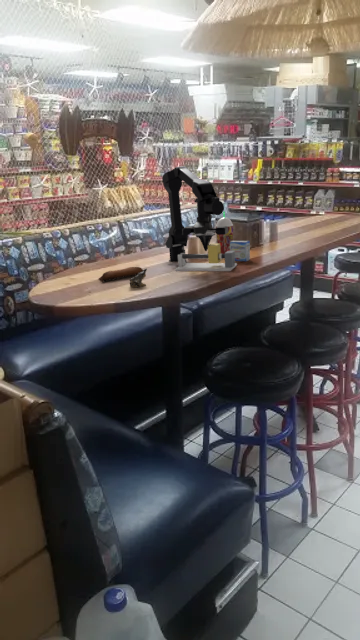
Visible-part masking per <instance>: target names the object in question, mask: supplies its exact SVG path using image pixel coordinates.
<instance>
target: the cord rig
mask: <svg viewBox="0 0 360 640" xmlns="http://www.w3.org/2000/svg"><path fill="white" fill-rule="evenodd" d="M187 259H188V260H189V259H192V260H193V259H195V260H196V259H197V260H198V259H199V260H200V259H202V260H203V259H204V260H207V259H208V253H186V252H185V253H181V255H178V261H177V264H178V266H177V267H176V268H175V269H174V271H176V272H179V271H181V272H183V271H185V272H187V271H188V272H189V271H191V272H231V271H232V270H233V269H234V268H236V267H237V265H238V263H237V262H236V261H235V251H227V252H226V253H225V254H218V259H221V260H222V259H223V260H224V262H219V263H209V262H186V260H187Z"/></svg>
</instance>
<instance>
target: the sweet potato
mask: <svg viewBox="0 0 360 640" xmlns="http://www.w3.org/2000/svg"><path fill="white" fill-rule="evenodd" d="M143 270H144V269H143V268H142V267H140V266H130V267H125V268H122V269H116V270H108V271H105V272H103V273H102V275H101V276H100V277H99V278H97V280H98V281H100V282H102V283H105V282H110V281H113V280H117V279H122V278H123V279H124V278H128V277H133V276H134V277H136V276H137V274H138V273H140V272H142V271H143Z"/></svg>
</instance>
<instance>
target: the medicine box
mask: <svg viewBox="0 0 360 640" xmlns="http://www.w3.org/2000/svg"><path fill="white" fill-rule="evenodd" d="M250 243H251V241H250V240H233V241H231V242H230V251H235V262H248V261H251V254H250V253H251V249H250V246H251V245H250Z"/></svg>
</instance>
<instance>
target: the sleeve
mask: <svg viewBox="0 0 360 640" xmlns="http://www.w3.org/2000/svg"><path fill="white" fill-rule="evenodd" d="M207 254H208V263H221V262H222V259H218V254H221V250H220V243H218V242H217V243H209V245H208V249H207Z"/></svg>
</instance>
